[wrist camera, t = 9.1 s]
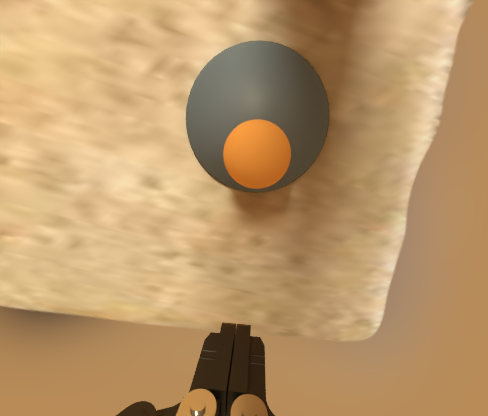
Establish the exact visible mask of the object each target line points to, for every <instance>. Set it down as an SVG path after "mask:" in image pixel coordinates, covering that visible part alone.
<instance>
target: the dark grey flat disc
mask: <svg viewBox="0 0 488 416" xmlns="http://www.w3.org/2000/svg"><path fill="white" fill-rule="evenodd" d="M255 119H261V120H266V121H269V122H272V123H274V124H275V125H277V126H278V127H279V128H280V129H281V130H282V131H283V132H284V133H285V135H286V136H287V138H288V141H289V144H290V148H291V159H290V164H289V167H288V169H287V171H286V172H285V174H284V175H283V177H282V178H281V179H280V180H279V181H277V182H276V183H275V184H273V185H271V186H269V187H265V188H260V189H253V188H248V187H245V186H243V185H241V184H239V183H237V182H236V181H235V180H234V179H233V178H232V177H231V176H230V174H229V173H228V171H227V169H226V167H225V164H224V158H223V151H224V145H225V142H226V140H227V138H228V136H229V134H230V133H231V132H232V131H233V129H235V128H236V127H237V126H238V125H240V124H241V123H243V122H246V121H249V120H255ZM328 121H329V108H328V101H327V95H326V92H325V89H324V86H323V84H322V82H321V80H320V78H319V76H318V74H317V73H316V71H315V70H314V68H313V67H312V66H311V65H310V64H309V63H308V61H307V60H306V59H304V58H303V57H302V56H301V55H300V54H298V53H297V52H295V51H293V50H292V49H290V48H288V47H286V46H283V45H281V44H277V43H273V42H267V41H250V42H245V43H240V44H237V45H235V46H232V47H230V48H228V49H226V50H224V51H222V52H221V53H219V54H218V55H217V56H215V57H214V58H213V59H212V60H211V61H210V62H209V63H208V64H207V65H206V66H205V67H204V68H203V70H202V71H201V72H200V74H199V75H198V77H197V79H196V80H195V82H194V85H193V87H192V89H191V92H190V95H189V98H188V103H187V110H186V127H187V133H188V138H189V141H190V144H191V147H192V149H193V151H194V154H195V155H196V157H197V159H198V160H199V162H200V163H201V165H202V166H203V167H204V168H205V170H206V171H207V172H208V173H209V174H211V175H212V176H213V177H214V178H215V179H217V180H218V181H220V182H221V183H223V184H225V185H227V186H229V187H232V188H234V189H238V190H241V191H248V192H264V191H270V190H274V189H278V188H280V187H283V186H285V185H287V184H289V183H291V182H293V181H294V180H296V179H297V178H298V177H300V176H301V175H302V174H303V173H304V172H305V171H306V170H307V169H308V168H309V167H310V166H311V164H312V163H313V162H314V161H315V159H316V157H317V156H318V154H319V152H320V150H321V148H322V146H323V144H324V141H325V138H326V134H327V129H328Z"/></svg>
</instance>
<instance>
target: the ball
mask: <svg viewBox="0 0 488 416" xmlns="http://www.w3.org/2000/svg"><path fill="white" fill-rule="evenodd" d="M223 158H224V164H225V167H226V169H227V171H228V173H229V174H230V176H231V177H232V178H233V179H234V180H235V181H236V182H237V183H239V184H241V185H243V186H245V187H248V188H253V189H260V188H265V187H269V186H271V185H273V184H275V183H276V182H277V181H279V180H280V179H281V178H282V177H283V175H284V174H285V172H286V171H287V169H288V167H289V164H290V159H291V148H290V144H289V141H288V138H287V136H286V135H285V133H284V132H283V131H282V130H281V129H280V128H279V127H278V126H277V125H275V124H274V123H272V122H269V121H266V120H261V119H255V120H249V121H246V122H243V123H241V124H240V125H238V126H237V127H236V128H235V129H233V131H232V132H231V133H230V134H229V136H228V138H227V140H226V142H225V145H224V151H223Z"/></svg>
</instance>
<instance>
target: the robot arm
mask: <svg viewBox="0 0 488 416" xmlns="http://www.w3.org/2000/svg"><path fill="white" fill-rule="evenodd" d="M250 328H251V325H244V324H237V328H236V324H233V323H222V326H221V331H220V333H210V335H209V336H208V337H207V338H206V339H205V341H204V345H203V348H202V351H201V354H200V359H199V361H198V364H197V368H196V371H195V375H194V378H193V382H192V385H191V388H190V391H189V393H188V394H187V395H186V396H185V397H184V398H183V400H182V401H181V402H180V403H178V404H177V405H175V406H173V407H169V408H165V409H162V410H157V411H156V409H155V407H154V406H153V405H152V404H151V403H149V402H146V401H141V402H137V403H134V404H132V405H130V406H129V407H127V408H126V409H124V410H123V411H122V412H120V413H119V414H118V415H116V416H275V415H274V414H273V413H272V412H271V411H270V409H269V407H268V405H267V402H266V392H265V391H266V390H265V351H264V344H263V342H262V340H261V338H260V337H252V336H250Z"/></svg>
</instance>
